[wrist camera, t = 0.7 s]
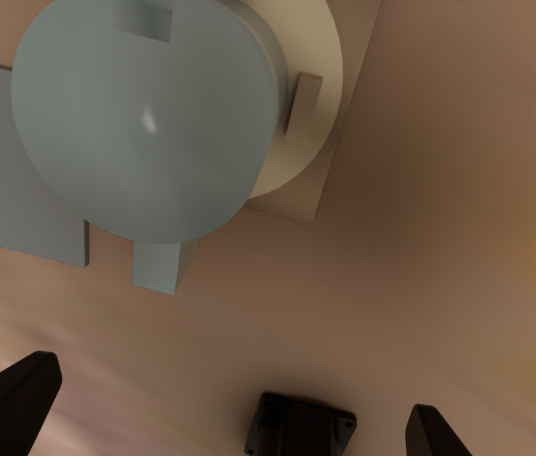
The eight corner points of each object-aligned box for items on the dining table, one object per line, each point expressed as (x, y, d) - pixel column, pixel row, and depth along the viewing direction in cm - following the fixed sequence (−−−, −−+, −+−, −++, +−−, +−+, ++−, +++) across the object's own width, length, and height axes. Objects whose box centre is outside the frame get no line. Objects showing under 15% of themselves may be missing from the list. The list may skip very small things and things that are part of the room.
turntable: (304, 214, 19) (302, 236, 17) (96, 162, 19) (72, 178, 17) (379, -36, 14) (387, -42, 12) (96, -108, 14) (63, -123, 12)
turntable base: (312, 215, 20) (312, 223, 19) (96, 161, 20) (88, 167, 19) (394, -47, 15) (397, -49, 14) (97, -121, 15) (86, -127, 14)
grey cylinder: (252, 243, 19) (218, 358, 13) (127, 212, 19) (32, 311, 13) (311, -8, 14) (302, -17, 8) (139, -52, 14) (-9, -95, 8)
